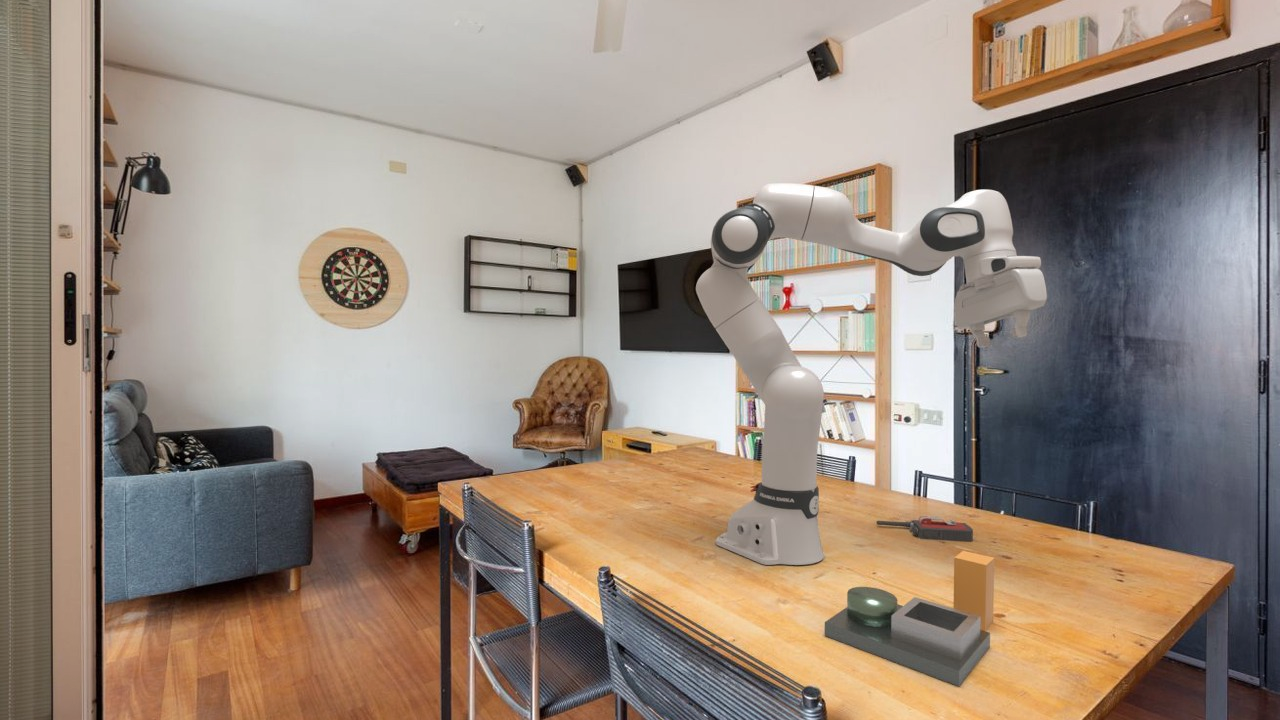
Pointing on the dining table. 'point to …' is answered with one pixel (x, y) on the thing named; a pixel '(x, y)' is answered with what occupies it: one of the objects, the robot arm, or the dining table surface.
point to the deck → (911, 633)
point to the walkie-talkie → (936, 529)
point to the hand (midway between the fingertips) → (1001, 342)
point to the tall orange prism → (974, 586)
